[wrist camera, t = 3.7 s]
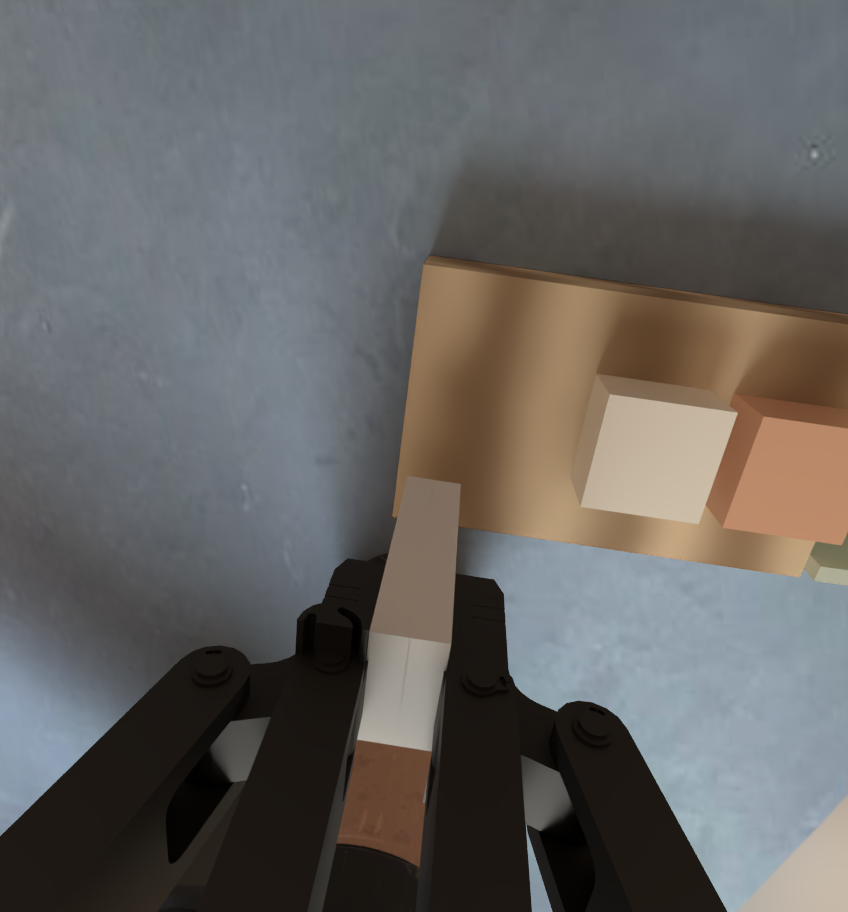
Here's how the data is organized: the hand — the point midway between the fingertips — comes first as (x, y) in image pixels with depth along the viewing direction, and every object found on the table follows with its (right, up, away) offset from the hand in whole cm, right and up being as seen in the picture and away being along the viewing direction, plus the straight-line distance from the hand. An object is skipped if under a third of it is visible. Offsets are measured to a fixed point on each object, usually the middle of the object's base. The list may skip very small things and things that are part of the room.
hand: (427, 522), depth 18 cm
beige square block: (+9, +3, +10) cm, 14 cm away
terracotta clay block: (+15, +2, +10) cm, 18 cm away
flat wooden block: (+9, +4, +14) cm, 17 cm away
